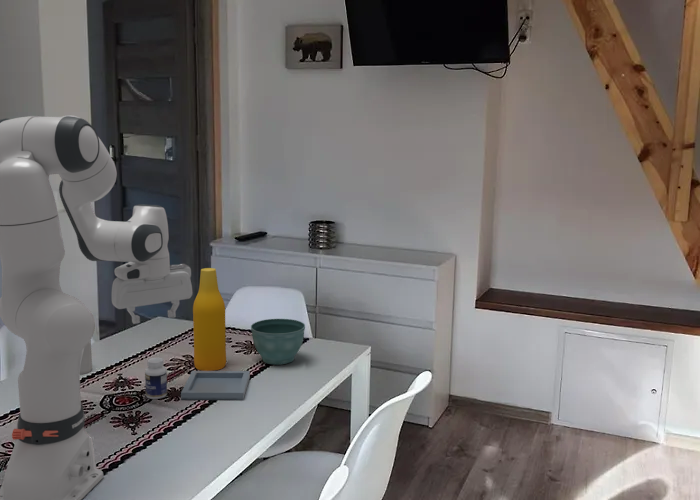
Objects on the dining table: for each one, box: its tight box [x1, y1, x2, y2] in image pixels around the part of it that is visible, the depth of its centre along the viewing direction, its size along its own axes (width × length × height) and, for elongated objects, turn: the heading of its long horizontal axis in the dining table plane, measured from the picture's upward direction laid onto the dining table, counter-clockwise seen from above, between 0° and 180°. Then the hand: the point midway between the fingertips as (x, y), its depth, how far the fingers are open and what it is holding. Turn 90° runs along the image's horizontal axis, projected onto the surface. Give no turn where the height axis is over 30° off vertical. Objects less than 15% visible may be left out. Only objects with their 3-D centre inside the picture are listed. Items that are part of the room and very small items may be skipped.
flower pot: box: [250, 318, 306, 366], centre depth 214 cm, size 16×16×11 cm
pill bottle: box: [144, 357, 168, 400], centre depth 185 cm, size 5×5×10 cm
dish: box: [180, 370, 251, 401], centre depth 192 cm, size 16×16×2 cm
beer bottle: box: [192, 267, 227, 371], centre depth 206 cm, size 9×9×29 cm
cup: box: [80, 339, 93, 375], centre depth 202 cm, size 7×10×9 cm
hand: (154, 320), depth 183 cm, fingers open, 8 cm apart
